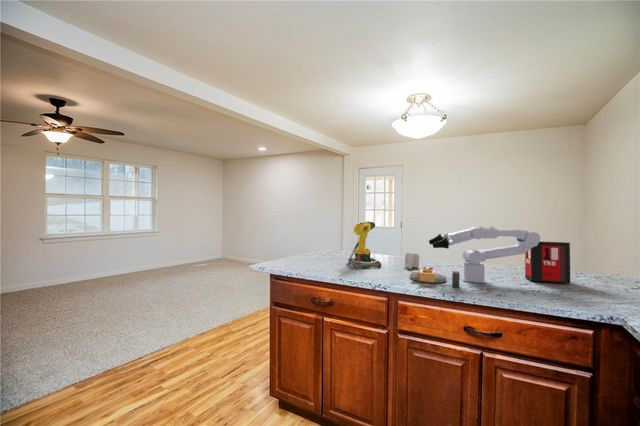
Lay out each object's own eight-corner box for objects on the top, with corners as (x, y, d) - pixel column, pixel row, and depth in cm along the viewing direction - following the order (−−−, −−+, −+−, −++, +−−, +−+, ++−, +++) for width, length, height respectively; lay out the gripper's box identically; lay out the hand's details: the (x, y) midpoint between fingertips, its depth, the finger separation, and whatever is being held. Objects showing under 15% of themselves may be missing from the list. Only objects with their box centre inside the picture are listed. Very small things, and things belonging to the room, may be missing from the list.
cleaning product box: (531, 280, 154) (531, 241, 155) (525, 278, 162) (525, 240, 163) (570, 283, 149) (569, 242, 150) (561, 280, 157) (561, 242, 159)
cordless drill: (384, 268, 185) (385, 223, 185) (354, 269, 182) (355, 223, 181) (373, 262, 204) (374, 221, 203) (346, 263, 200) (346, 221, 199)
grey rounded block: (402, 268, 181) (403, 251, 183) (405, 269, 190) (406, 253, 192) (415, 270, 178) (416, 253, 179) (418, 270, 187) (419, 254, 188)
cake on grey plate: (446, 276, 164) (446, 265, 163) (446, 285, 147) (446, 272, 147) (411, 273, 171) (412, 263, 170) (408, 281, 154) (408, 269, 154)
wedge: (458, 285, 146) (459, 271, 146) (459, 288, 142) (459, 273, 142) (452, 285, 147) (452, 271, 147) (452, 287, 143) (452, 272, 143)
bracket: (434, 277, 155) (435, 270, 155) (434, 282, 147) (434, 273, 147) (412, 275, 159) (412, 268, 159) (410, 279, 151) (411, 271, 151)
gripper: (451, 227, 163) (426, 234, 165) (460, 233, 149) (432, 240, 151) (454, 240, 164) (429, 246, 166) (463, 246, 150) (436, 253, 152)
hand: (431, 244), depth 159 cm, fingers open, 7 cm apart
